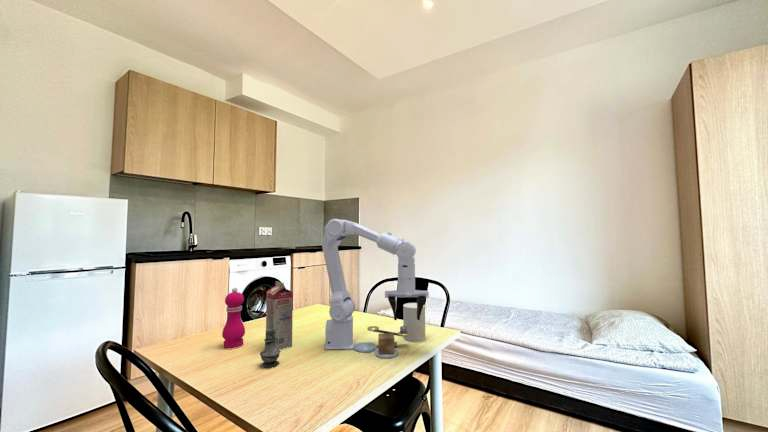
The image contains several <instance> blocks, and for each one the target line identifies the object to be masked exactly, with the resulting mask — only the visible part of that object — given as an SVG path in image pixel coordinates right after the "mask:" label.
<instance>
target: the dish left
mask: <svg viewBox="0 0 768 432" xmlns="http://www.w3.org/2000/svg"><path fill="white" fill-rule="evenodd" d="M376 349H377V344H376V343H374V342H370V341H363V342H357V343H354V347H353V350H354V351H355V352H358V353H363V354H366V353H372V352H375V350H376Z"/></svg>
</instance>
